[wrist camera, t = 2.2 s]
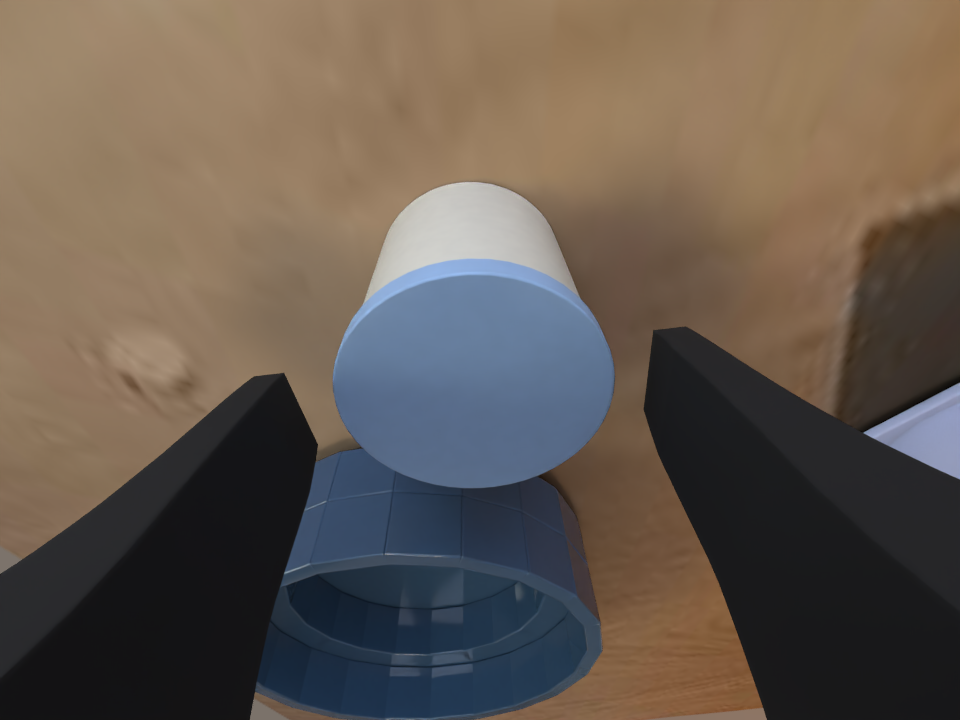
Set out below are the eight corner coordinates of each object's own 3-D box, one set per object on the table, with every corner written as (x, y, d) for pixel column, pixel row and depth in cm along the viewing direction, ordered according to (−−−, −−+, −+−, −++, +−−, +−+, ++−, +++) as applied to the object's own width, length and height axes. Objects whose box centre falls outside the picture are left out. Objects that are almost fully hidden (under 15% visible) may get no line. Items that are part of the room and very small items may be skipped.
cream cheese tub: (603, 267, 14) (671, 391, 9) (475, 376, 16) (480, 518, 12) (463, 126, 11) (465, 202, 7) (337, 278, 14) (277, 408, 9)
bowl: (638, 530, 22) (678, 647, 18) (439, 637, 28) (436, 743, 24) (391, 368, 16) (366, 490, 12) (204, 549, 22) (146, 672, 18)
